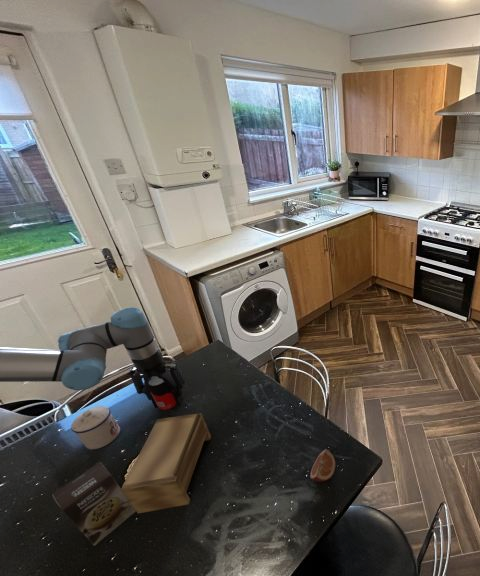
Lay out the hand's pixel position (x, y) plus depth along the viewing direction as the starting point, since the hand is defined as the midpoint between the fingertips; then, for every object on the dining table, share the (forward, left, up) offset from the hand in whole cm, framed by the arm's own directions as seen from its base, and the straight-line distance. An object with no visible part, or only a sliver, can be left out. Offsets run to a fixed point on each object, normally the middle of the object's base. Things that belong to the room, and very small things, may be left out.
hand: (169, 403), depth 109 cm
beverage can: (0, 0, -1) cm, 1 cm away
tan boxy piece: (+12, -26, 0) cm, 29 cm away
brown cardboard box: (0, -36, -1) cm, 37 cm away
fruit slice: (+53, -34, -1) cm, 63 cm away
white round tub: (-16, -9, -1) cm, 18 cm away
